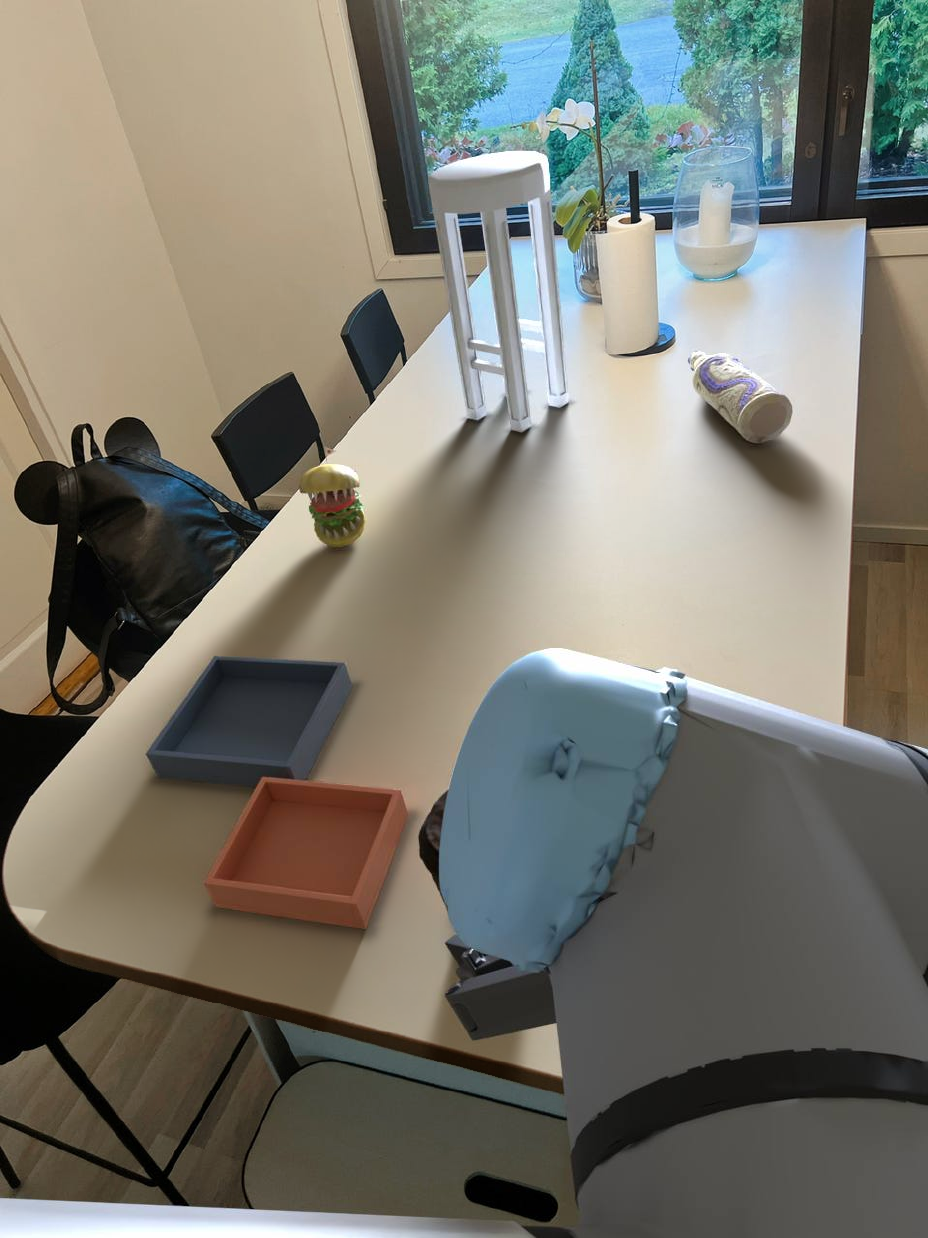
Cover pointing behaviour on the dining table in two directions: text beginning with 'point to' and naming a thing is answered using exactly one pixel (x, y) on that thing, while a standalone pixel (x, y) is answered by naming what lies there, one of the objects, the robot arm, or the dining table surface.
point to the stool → (501, 275)
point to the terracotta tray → (309, 851)
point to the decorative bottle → (740, 396)
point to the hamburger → (334, 503)
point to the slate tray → (252, 721)
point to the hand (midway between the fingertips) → (550, 888)
